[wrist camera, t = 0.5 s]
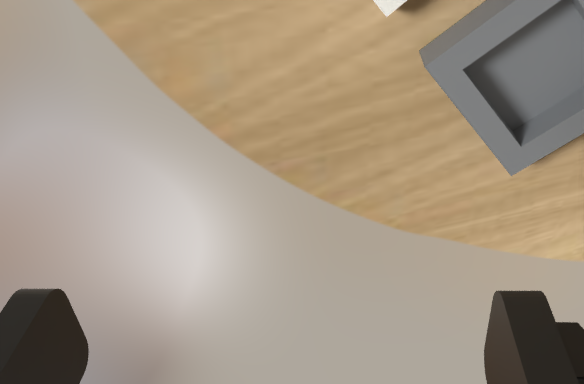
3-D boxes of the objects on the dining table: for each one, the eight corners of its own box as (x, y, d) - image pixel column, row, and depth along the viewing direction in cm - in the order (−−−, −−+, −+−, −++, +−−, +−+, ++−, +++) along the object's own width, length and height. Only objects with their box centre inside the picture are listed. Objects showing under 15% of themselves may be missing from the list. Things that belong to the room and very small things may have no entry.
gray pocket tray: (570, -63, 29) (587, -53, 27) (645, 67, 33) (666, 84, 31) (418, 50, 33) (424, 67, 31) (501, 155, 37) (511, 175, 35)
